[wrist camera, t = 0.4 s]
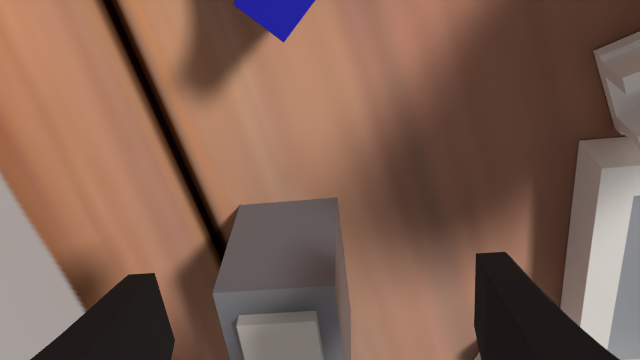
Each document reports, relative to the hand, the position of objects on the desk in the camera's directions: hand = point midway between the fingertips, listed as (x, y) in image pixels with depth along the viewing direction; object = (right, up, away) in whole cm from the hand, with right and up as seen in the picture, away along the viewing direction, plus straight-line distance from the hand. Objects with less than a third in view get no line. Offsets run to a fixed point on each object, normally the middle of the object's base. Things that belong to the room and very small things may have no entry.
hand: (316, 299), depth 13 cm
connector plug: (-1, -1, +12) cm, 12 cm away
